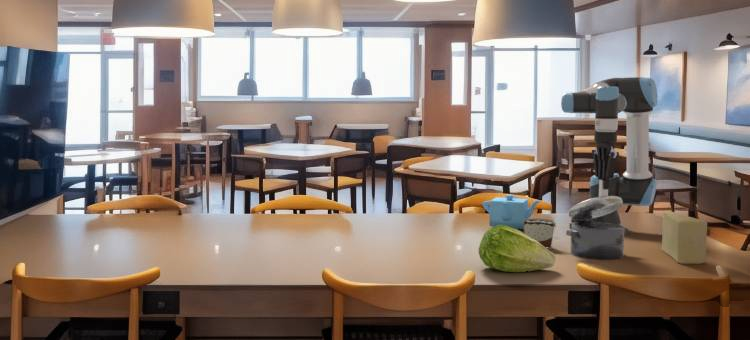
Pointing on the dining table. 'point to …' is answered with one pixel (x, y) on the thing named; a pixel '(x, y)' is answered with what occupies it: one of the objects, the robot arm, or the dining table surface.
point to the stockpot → (597, 240)
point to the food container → (540, 230)
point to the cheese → (684, 238)
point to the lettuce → (513, 251)
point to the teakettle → (509, 211)
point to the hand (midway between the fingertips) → (603, 198)
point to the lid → (594, 208)
